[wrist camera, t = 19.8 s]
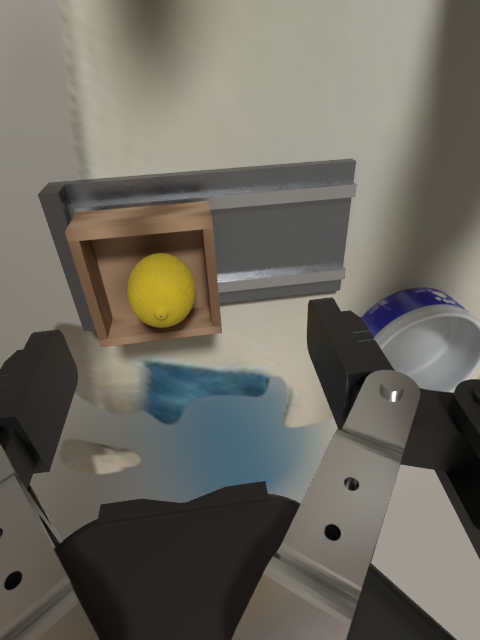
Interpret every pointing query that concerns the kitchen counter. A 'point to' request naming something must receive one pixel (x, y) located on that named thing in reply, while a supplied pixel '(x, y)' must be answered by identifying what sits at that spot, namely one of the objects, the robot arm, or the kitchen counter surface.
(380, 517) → the robot arm
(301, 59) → the kitchen counter surface
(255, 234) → the track
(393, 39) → the kitchen counter surface
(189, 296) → the lemon
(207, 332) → the wooden tray box
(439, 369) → the dog bowl
